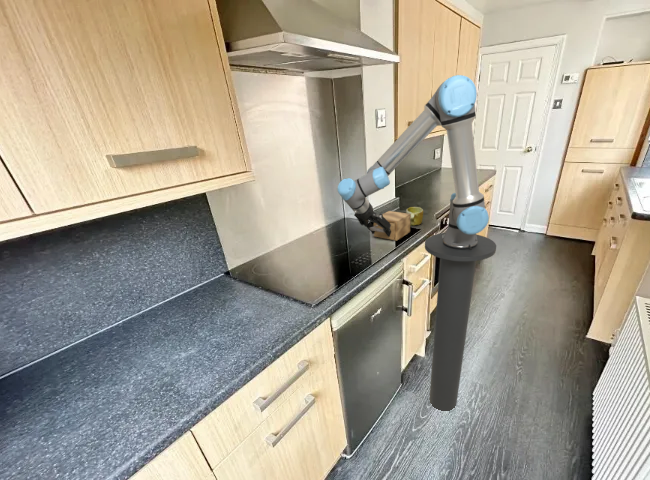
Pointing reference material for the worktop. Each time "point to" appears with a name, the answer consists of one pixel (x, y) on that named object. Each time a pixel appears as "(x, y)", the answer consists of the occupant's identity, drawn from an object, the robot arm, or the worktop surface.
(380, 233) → the drawer
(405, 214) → the cabinet
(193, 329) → the worktop surface
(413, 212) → the mug
